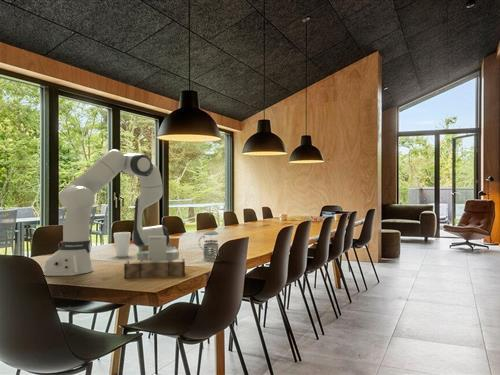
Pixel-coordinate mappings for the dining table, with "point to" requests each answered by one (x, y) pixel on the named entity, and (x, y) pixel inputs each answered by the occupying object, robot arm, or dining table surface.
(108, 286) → the dining table surface
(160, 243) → the skincare box
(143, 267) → the box
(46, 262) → the robot arm
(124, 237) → the foam cup
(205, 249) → the french press
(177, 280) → the dining table surface
